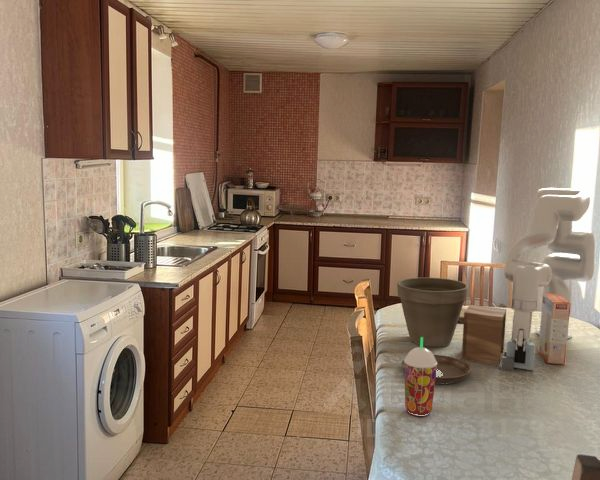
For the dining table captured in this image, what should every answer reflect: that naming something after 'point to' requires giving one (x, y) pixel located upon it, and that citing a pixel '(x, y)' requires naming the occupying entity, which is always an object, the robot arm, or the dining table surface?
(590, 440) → the dining table surface
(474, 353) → the tan wooden box
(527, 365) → the door
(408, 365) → the smoothie
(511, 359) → the hinge clips
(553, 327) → the cracker box
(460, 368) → the plant saucer
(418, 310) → the plant pot
